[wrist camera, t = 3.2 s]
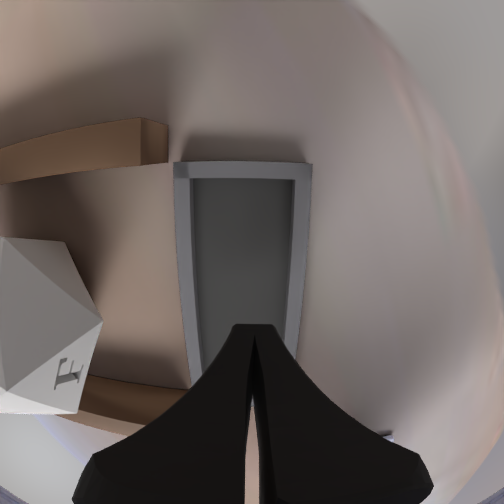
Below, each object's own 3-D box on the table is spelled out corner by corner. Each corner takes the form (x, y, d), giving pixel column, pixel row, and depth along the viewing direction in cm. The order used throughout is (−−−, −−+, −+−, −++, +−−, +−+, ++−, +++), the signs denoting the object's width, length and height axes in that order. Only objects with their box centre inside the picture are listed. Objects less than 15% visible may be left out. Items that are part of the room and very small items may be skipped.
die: (69, 362, 15) (102, 477, 8) (-41, 321, 10) (-80, 427, 2) (106, 251, 16) (158, 320, 8) (-13, 195, 10) (-87, 214, 3)
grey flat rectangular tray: (286, 393, 15) (288, 406, 14) (197, 391, 15) (194, 403, 14) (307, 163, 11) (312, 164, 10) (179, 161, 11) (173, 162, 10)
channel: (191, 406, 15) (183, 445, 12) (30, 372, 15) (11, 396, 12) (168, 125, 10) (140, 117, 7) (-22, 164, 10) (-57, 171, 7)
